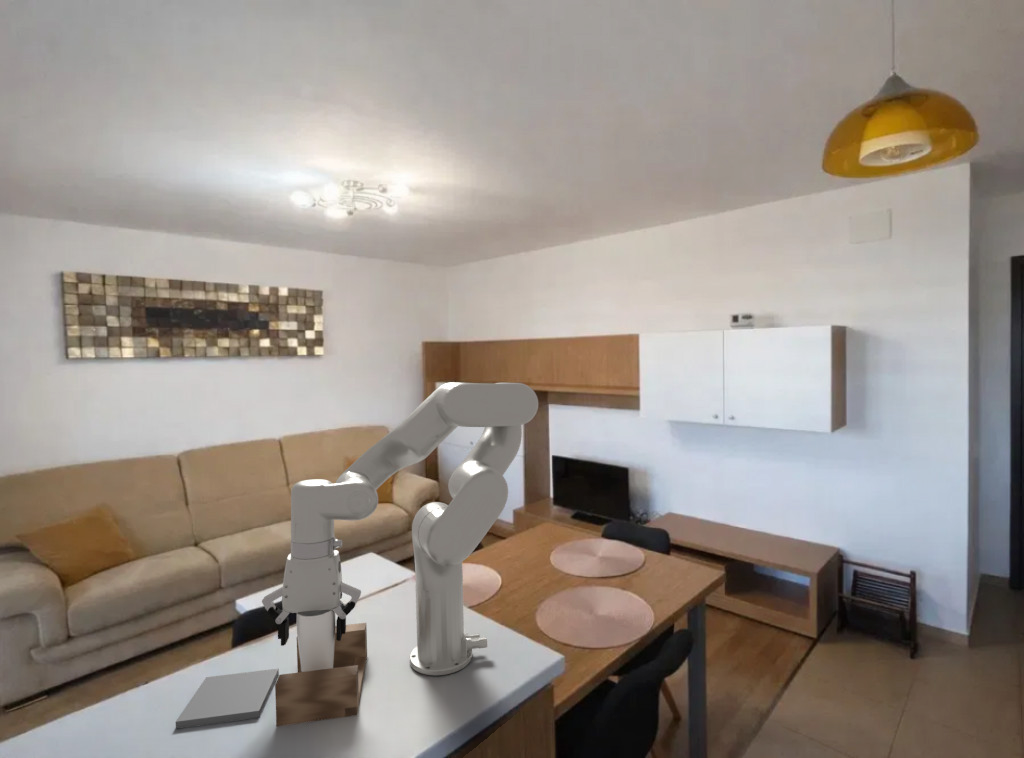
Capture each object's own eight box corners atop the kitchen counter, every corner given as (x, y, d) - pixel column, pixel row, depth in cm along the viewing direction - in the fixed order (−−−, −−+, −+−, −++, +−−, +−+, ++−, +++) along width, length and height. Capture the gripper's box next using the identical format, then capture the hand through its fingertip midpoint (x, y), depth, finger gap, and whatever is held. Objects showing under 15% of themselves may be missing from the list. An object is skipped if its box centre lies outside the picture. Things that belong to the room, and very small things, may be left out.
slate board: (278, 674, 102) (278, 668, 102) (259, 717, 89) (259, 710, 89) (206, 683, 100) (206, 677, 100) (175, 728, 87) (175, 721, 87)
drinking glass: (324, 701, 93) (322, 618, 93) (290, 697, 95) (288, 615, 95) (344, 679, 100) (342, 601, 100) (312, 676, 101) (310, 599, 101)
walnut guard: (367, 656, 108) (366, 622, 108) (357, 715, 90) (356, 674, 89) (300, 664, 106) (299, 629, 106) (276, 726, 87) (275, 684, 87)
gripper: (363, 539, 102) (362, 626, 102) (268, 543, 99) (268, 634, 99) (359, 551, 95) (358, 645, 95) (256, 557, 92) (256, 654, 92)
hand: (312, 639), depth 97 cm, fingers open, 9 cm apart
